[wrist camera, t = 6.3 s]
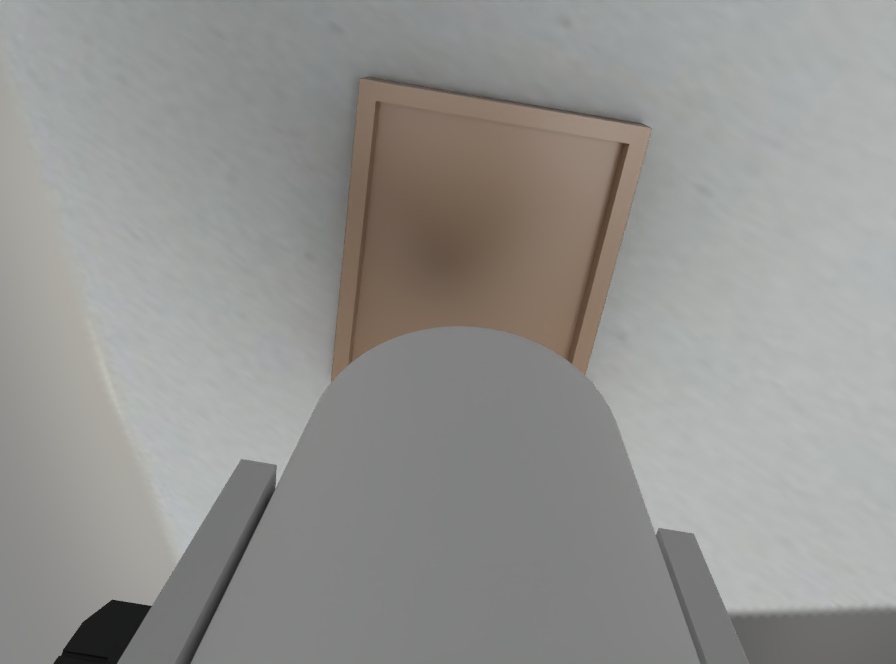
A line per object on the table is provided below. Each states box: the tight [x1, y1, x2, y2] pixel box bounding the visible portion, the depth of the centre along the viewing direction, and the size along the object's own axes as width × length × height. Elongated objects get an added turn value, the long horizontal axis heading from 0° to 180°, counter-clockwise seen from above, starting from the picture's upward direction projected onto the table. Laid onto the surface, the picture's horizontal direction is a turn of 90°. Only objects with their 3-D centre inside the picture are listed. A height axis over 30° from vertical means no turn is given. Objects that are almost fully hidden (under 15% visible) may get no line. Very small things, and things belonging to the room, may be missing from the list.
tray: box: [331, 77, 652, 382], centre depth 33 cm, size 16×13×2 cm
